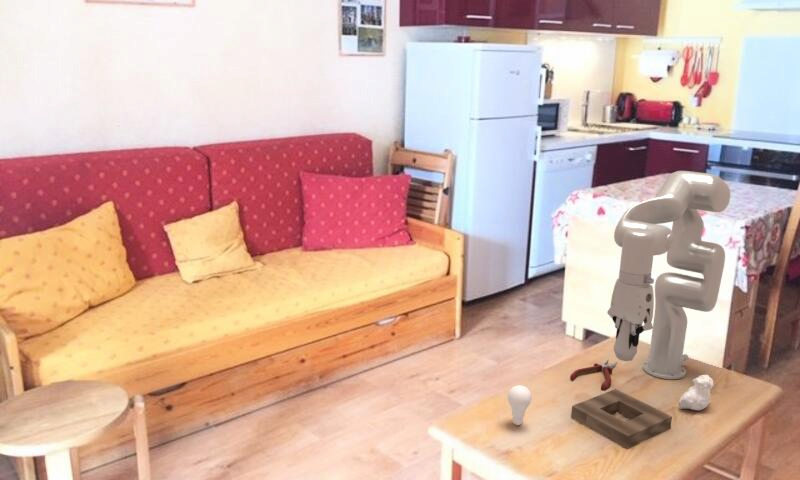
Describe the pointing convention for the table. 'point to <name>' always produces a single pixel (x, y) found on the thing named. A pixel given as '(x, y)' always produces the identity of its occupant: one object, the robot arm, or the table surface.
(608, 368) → the pliers
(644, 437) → the walnut stand
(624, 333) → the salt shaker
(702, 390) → the bust
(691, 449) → the table surface
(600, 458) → the table surface
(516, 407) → the lightbulb
